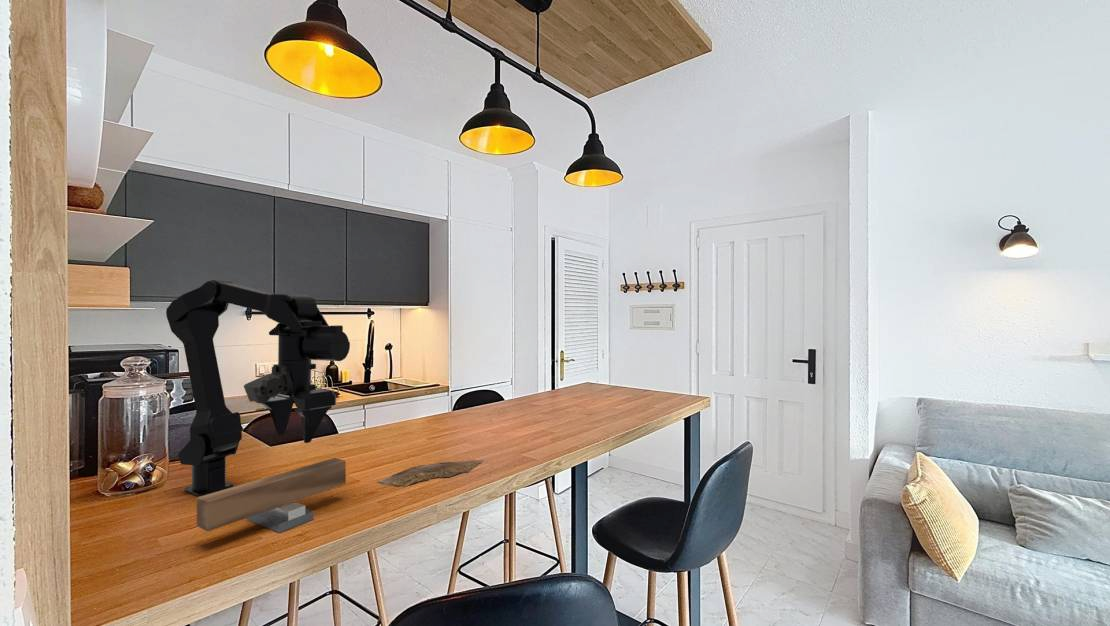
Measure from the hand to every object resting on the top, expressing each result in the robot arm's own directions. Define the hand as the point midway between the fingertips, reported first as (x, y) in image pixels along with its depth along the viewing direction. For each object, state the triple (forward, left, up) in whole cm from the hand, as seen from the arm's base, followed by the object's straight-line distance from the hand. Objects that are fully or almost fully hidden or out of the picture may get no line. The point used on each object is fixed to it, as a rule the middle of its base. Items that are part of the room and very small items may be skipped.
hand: (293, 438), depth 96 cm
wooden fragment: (+12, +26, -12) cm, 31 cm away
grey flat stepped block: (+7, -7, -12) cm, 15 cm away
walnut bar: (+7, -7, -9) cm, 13 cm away
